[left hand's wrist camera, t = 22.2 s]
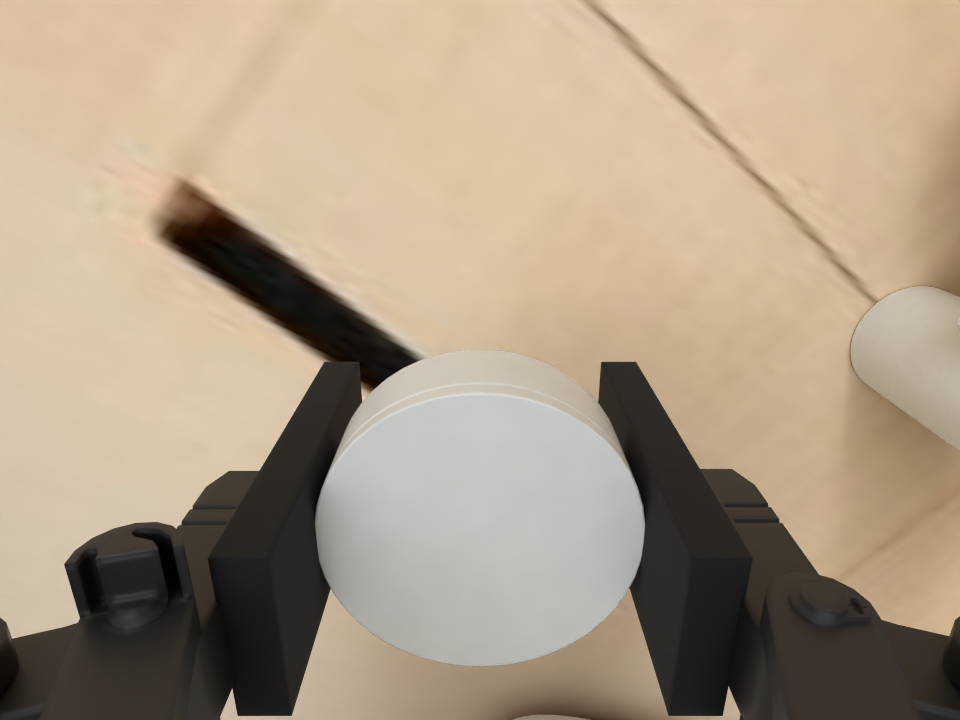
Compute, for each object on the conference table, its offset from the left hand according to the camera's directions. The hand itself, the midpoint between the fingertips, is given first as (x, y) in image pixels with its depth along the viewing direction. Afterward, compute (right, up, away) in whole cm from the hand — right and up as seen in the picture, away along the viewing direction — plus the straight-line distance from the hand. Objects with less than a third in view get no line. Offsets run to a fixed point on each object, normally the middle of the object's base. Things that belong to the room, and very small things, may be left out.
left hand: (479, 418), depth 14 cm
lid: (0, -2, -4) cm, 4 cm away
